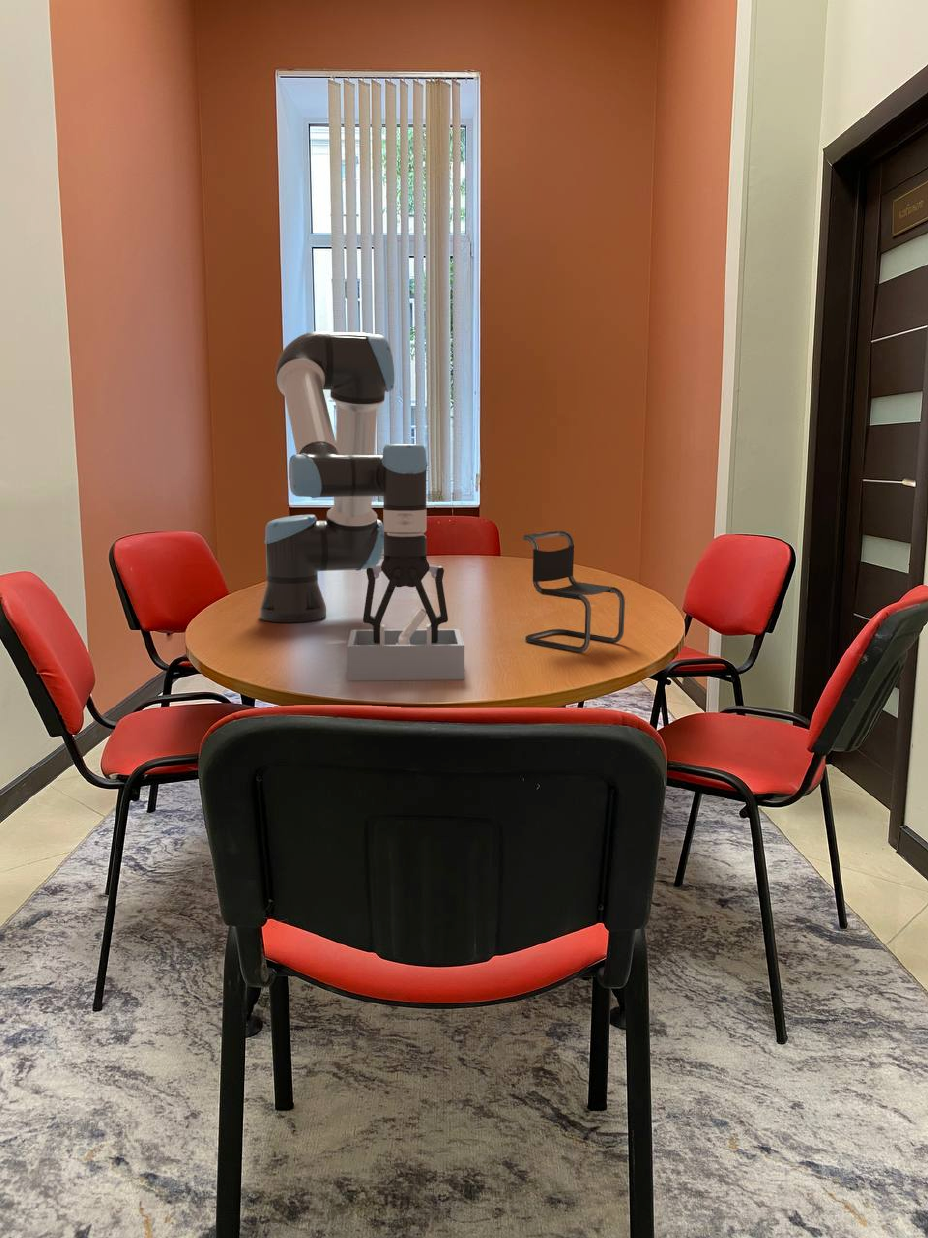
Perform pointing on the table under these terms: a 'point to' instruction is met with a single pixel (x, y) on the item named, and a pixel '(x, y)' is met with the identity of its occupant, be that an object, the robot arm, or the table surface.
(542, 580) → the chair
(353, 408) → the robot arm
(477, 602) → the table surface
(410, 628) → the white ring with handle
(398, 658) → the well
